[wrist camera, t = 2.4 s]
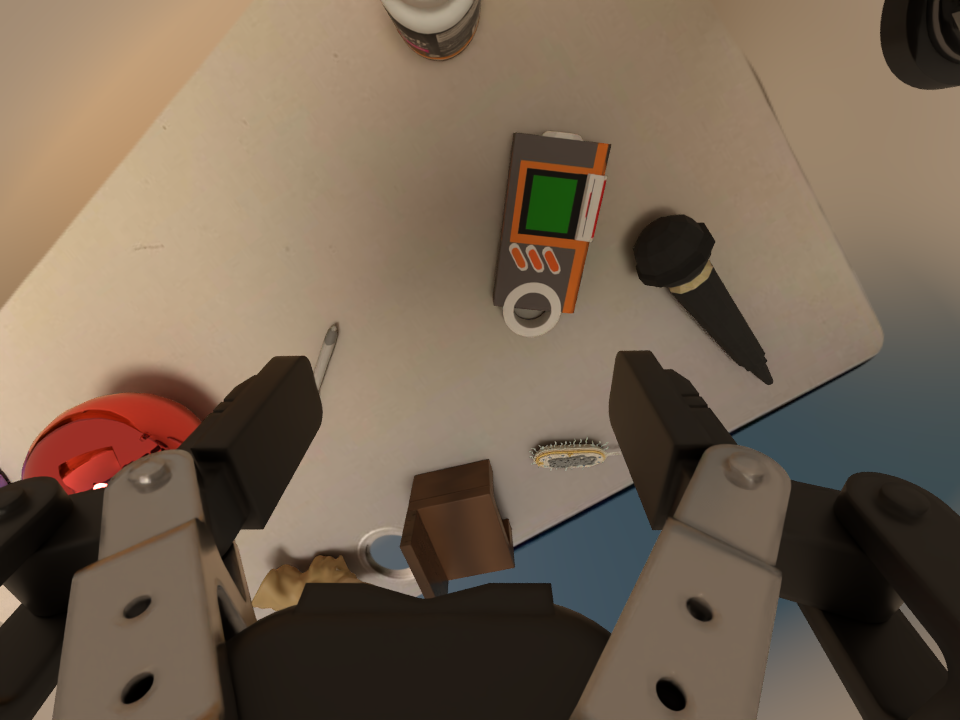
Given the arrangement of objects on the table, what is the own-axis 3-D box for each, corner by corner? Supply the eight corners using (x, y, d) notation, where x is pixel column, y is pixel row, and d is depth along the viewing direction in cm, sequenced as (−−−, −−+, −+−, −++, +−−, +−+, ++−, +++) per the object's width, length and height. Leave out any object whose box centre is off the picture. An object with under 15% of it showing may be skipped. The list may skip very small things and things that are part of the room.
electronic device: (490, 334, 34) (517, 126, 27) (489, 321, 37) (513, 127, 30) (571, 342, 34) (617, 138, 28) (564, 328, 37) (605, 138, 30)
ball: (173, 346, 37) (45, 420, 26) (264, 443, 41) (187, 542, 30) (81, 403, 39) (-72, 493, 28) (176, 489, 44) (75, 596, 33)
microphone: (760, 351, 41) (649, 201, 33) (822, 368, 36) (709, 194, 27) (723, 394, 41) (604, 255, 33) (780, 417, 36) (655, 258, 27)
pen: (343, 324, 36) (338, 330, 35) (302, 444, 42) (297, 453, 40) (332, 320, 36) (326, 325, 35) (292, 441, 41) (286, 449, 40)
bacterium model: (656, 438, 39) (647, 472, 42) (649, 425, 40) (641, 458, 43) (529, 446, 39) (529, 479, 42) (527, 432, 40) (527, 465, 43)
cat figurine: (238, 599, 42) (340, 625, 39) (278, 532, 47) (372, 550, 44) (277, 625, 48) (370, 651, 44) (310, 562, 53) (395, 581, 49)
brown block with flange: (488, 459, 42) (491, 528, 34) (511, 529, 46) (518, 605, 38) (414, 475, 43) (399, 546, 35) (443, 542, 47) (435, 620, 39)
